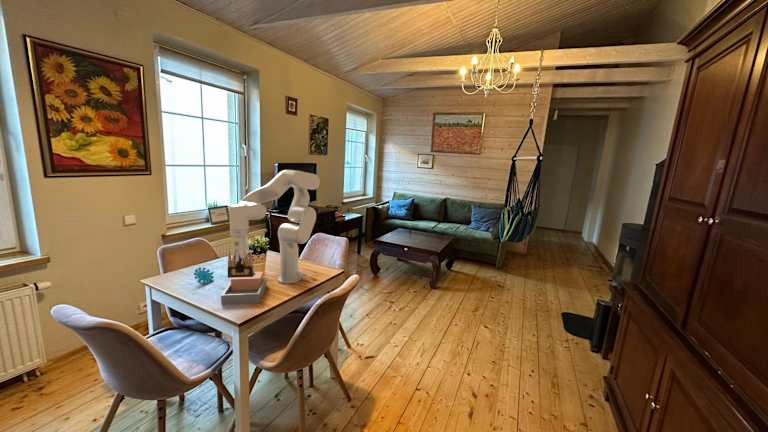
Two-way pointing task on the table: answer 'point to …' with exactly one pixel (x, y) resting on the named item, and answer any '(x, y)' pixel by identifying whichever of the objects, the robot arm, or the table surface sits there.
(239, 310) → the table surface
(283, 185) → the robot arm
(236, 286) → the slider
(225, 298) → the grey shallow rimmed piece
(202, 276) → the gear
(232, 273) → the ammunition clip
